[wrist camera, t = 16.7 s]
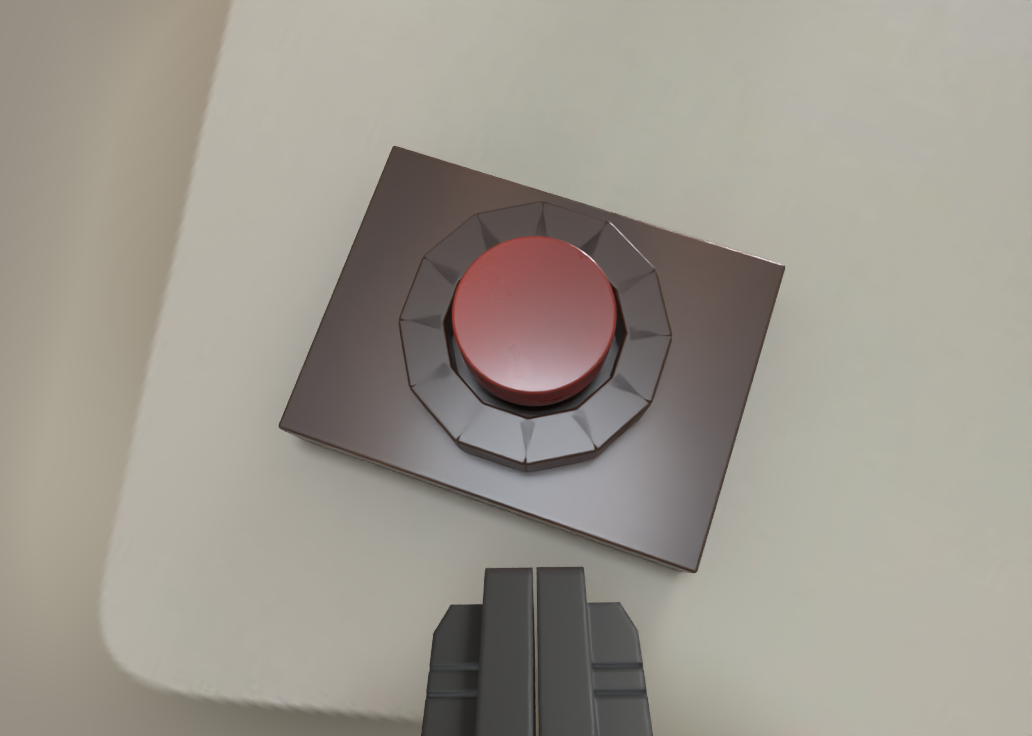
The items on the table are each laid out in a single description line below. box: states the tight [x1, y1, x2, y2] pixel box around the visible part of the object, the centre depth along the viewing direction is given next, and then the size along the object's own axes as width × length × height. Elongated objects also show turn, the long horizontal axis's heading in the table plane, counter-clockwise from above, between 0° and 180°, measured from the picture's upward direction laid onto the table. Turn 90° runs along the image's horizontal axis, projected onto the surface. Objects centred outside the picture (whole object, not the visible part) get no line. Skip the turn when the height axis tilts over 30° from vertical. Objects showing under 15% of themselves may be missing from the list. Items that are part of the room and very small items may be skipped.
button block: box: [279, 146, 785, 573], centre depth 23 cm, size 12×9×4 cm
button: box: [452, 236, 617, 406], centre depth 20 cm, size 4×4×2 cm
